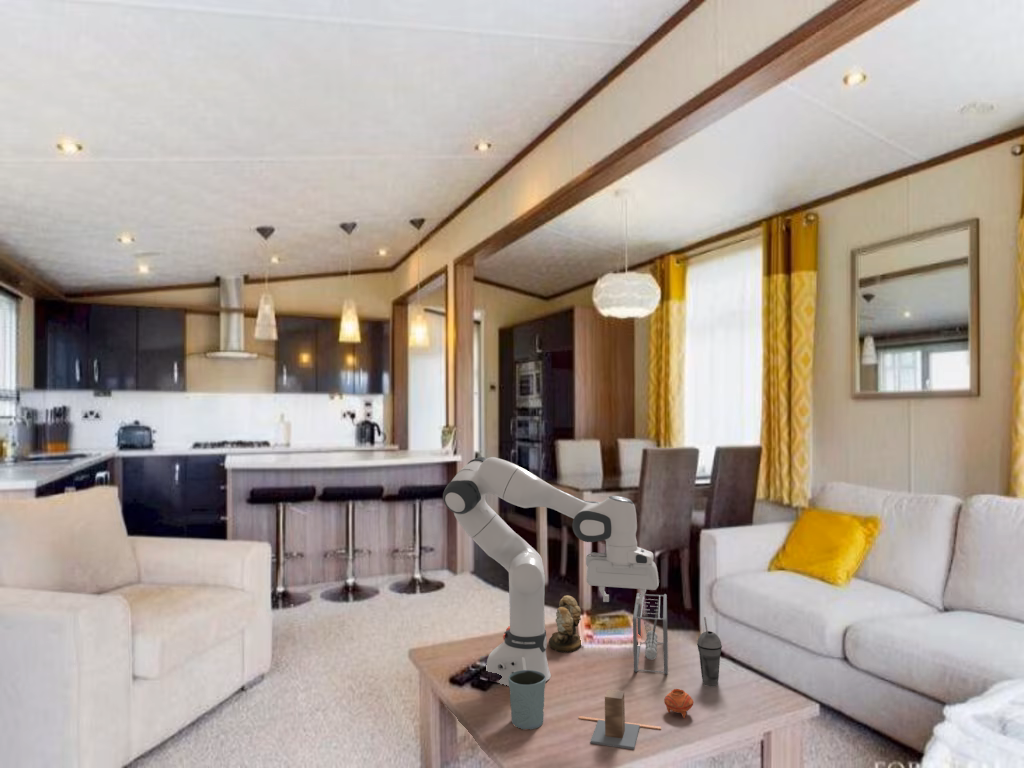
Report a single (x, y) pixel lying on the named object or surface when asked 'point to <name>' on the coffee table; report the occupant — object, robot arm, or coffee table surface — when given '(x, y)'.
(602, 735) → the mat
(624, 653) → the coffee table surface
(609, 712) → the wooden square post
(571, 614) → the brown lumpy statue
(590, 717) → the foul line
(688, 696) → the pot
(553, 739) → the coffee table surface
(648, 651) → the newton's cradle
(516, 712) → the teal tumbler
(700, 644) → the beverage cup
